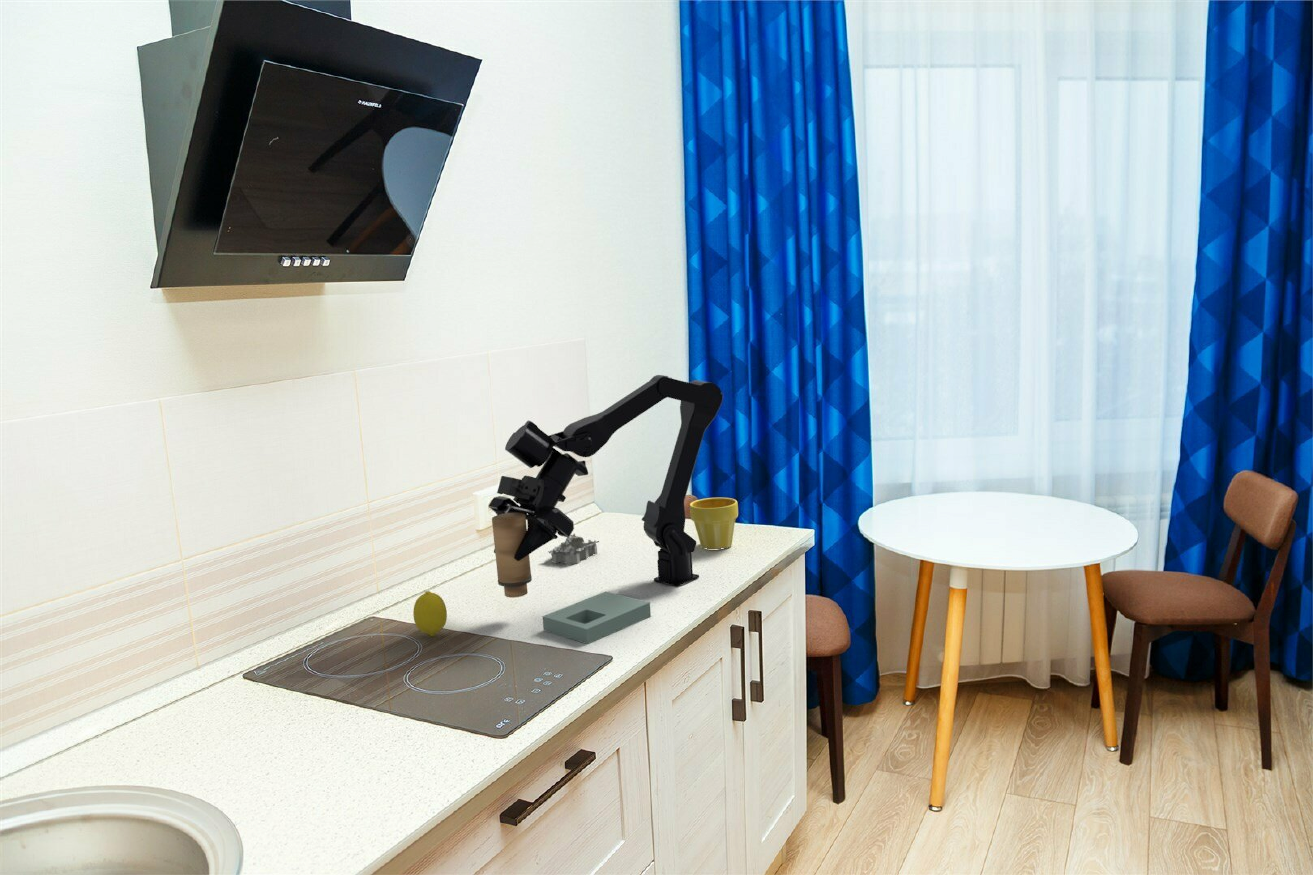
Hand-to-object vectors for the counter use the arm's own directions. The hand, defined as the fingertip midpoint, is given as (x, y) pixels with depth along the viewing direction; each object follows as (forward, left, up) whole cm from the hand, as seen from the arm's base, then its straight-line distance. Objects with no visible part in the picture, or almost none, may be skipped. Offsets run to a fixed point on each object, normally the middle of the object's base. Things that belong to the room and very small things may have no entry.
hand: (505, 556), depth 164 cm
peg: (-1, 0, -7) cm, 7 cm away
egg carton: (-33, -19, -12) cm, 40 cm away
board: (-7, +14, -12) cm, 20 cm away
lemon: (+13, -6, -12) cm, 18 cm away
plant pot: (-54, +2, -12) cm, 56 cm away
